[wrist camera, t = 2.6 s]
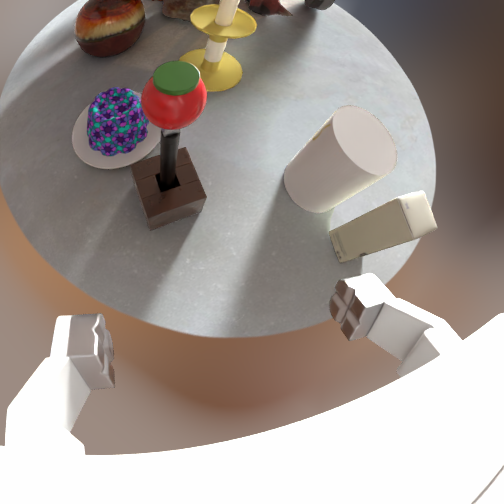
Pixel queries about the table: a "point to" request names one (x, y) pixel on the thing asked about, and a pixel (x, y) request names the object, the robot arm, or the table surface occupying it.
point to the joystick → (172, 109)
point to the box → (384, 227)
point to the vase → (109, 26)
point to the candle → (219, 43)
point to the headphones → (319, 4)
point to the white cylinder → (340, 160)
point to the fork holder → (168, 191)
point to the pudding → (114, 130)
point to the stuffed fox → (268, 7)
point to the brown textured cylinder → (184, 7)
